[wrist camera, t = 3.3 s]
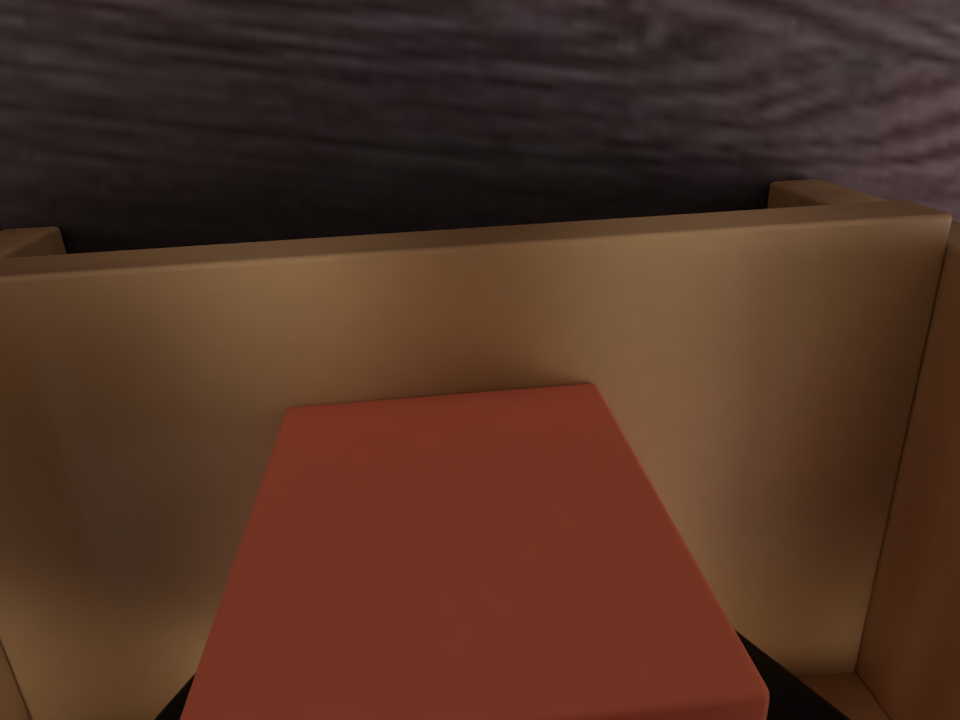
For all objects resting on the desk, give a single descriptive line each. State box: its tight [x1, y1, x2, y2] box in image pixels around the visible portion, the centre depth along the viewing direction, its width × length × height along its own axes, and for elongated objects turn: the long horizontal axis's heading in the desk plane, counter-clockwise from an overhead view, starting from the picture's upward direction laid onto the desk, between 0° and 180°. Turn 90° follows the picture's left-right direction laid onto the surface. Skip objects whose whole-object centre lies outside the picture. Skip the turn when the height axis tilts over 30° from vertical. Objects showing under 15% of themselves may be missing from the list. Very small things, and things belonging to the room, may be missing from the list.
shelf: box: [0, 179, 960, 720], centre depth 11 cm, size 15×8×8 cm, turn 92°
